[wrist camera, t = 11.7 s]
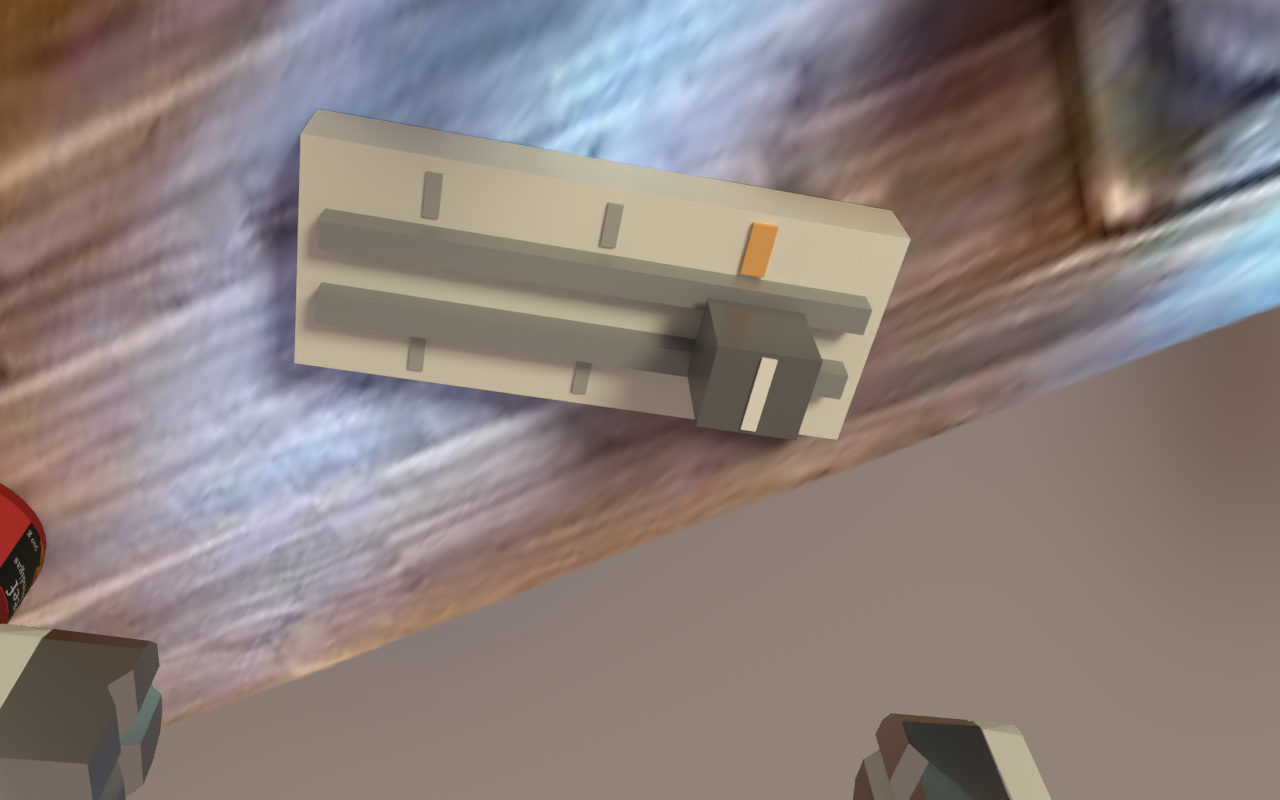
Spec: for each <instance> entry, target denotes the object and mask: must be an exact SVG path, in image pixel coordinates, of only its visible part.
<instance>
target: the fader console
mask: <svg viewBox="0 0 1280 800" xmlns="http://www.w3.org/2000/svg"><path fill="white" fill-rule="evenodd" d="M909 242H910V238H909V236H908V235H907V233H906V232H905V230H904V229H903V227H902V226H901V224H900V223H899V221H898V220H897V218H896V217H895V215H894V214H893V212H892V211H891V210H885V209H879V208H874V207H868V206H862V205H857V204H851V203H846V202H840V201H834V200H829V199H823V198H817V197H812V196H806V195H800V194H795V193H789V192H783V191H778V190H772V189H766V188H761V187H755V186H750V185H744V184H738V183H733V182H727V181H721V180H716V179H710V178H704V177H699V176H693V175H687V174H682V173H676V172H670V171H665V170H659V169H654V168H648V167H642V166H637V165H631V164H625V163H620V162H614V161H608V160H603V159H597V158H591V157H586V156H580V155H574V154H569V153H563V152H558V151H552V150H546V149H541V148H535V147H529V146H524V145H518V144H512V143H507V142H501V141H495V140H490V139H484V138H478V137H473V136H467V135H462V134H456V133H450V132H445V131H439V130H433V129H428V128H422V127H416V126H411V125H405V124H399V123H394V122H388V121H383V120H377V119H371V118H366V117H360V116H354V115H349V114H343V113H337V112H332V111H326V110H320V109H317V111H316V112H315V114H314V115H313V117H312V118H311V119H310V121H309V122H308V124H307V125H306V127H305V128H304V129H303V131H302V132H301V136H300V173H299V210H298V247H297V284H296V321H295V358H294V363H297V364H304V365H311V366H318V367H326V368H333V369H340V370H347V371H354V372H361V373H368V374H375V375H382V376H389V377H396V378H404V379H411V380H418V381H425V382H432V383H439V384H446V385H453V386H460V387H467V388H475V389H482V390H489V391H496V392H503V393H510V394H517V395H524V396H531V397H538V398H546V399H553V400H560V401H567V402H574V403H581V404H588V405H595V406H602V407H609V408H617V409H624V410H631V411H638V412H645V413H652V414H659V415H666V416H673V417H680V418H688V419H695V417H694V412H693V406H692V400H691V394H690V388H689V382H688V377H687V374H688V370H689V366H690V362H691V358H692V355H693V351H694V347H695V343H696V339H697V336H698V332H699V328H700V324H701V320H702V317H703V313H704V309H705V305H706V301H707V298H710V299H716V300H723V301H729V302H735V303H741V304H748V305H754V306H760V307H766V308H773V309H779V310H785V311H792V312H798V313H804V315H805V317H806V320H807V322H808V325H809V327H810V330H811V333H812V335H813V338H814V340H815V343H816V345H817V348H818V350H819V353H820V355H821V358H822V361H823V363H822V366H821V369H820V372H819V375H818V378H817V381H816V383H815V386H814V389H813V392H812V395H811V398H810V401H809V404H808V407H807V410H806V413H805V416H804V419H803V421H802V424H801V427H800V430H799V433H798V434H801V435H808V436H815V437H822V438H829V439H837V438H838V436H839V433H840V430H841V427H842V425H843V422H844V419H845V417H846V414H847V411H848V408H849V406H850V403H851V400H852V398H853V395H854V392H855V389H856V387H857V384H858V381H859V378H860V376H861V373H862V370H863V368H864V365H865V362H866V359H867V357H868V354H869V351H870V348H871V346H872V343H873V340H874V338H875V335H876V332H877V329H878V327H879V324H880V321H881V319H882V316H883V313H884V310H885V308H886V305H887V302H888V299H889V297H890V294H891V291H892V289H893V286H894V283H895V280H896V278H897V275H898V272H899V269H900V267H901V264H902V261H903V259H904V256H905V253H906V250H907V248H908V245H909Z"/></svg>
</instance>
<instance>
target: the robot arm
mask: <svg viewBox="0 0 1280 800" xmlns="http://www.w3.org/2000/svg"><path fill="white" fill-rule="evenodd" d="M158 668H159V657H158V648H157V643H154V642H152V641H146V640H138V639H130V638H122V637H114V636H106V635H98V634H89V633H81V632H73V631H65V630H57V629H53V630H52V629H44V628H35V627H27V626H18V625H10V624H0V800H126V799H125V798H126V797H127V796H128V795H130V794H131V793H132V792H134V791H135V790H136V789H138V788H139V787H140V786H142V785H143V784H144V781H145V779H146V776H147V774H148V771H149V769H150V766H151V764H152V761H153V758H154V754H155V750H156V746H157V742H158V738H159V735H160V729H161V718H162V697H161V694H160V693H159V692H158V691H157V690H156V689H155V688H154V687H153V686H152V685H151V684H152V681H153V679H154V677H155V675H156V672H157V670H158ZM876 737H877V741H878V744H879V748H880V749H879V750H878V751H876V752H875V753H873V754H872V755H870V756H868V757H867V758H865V759H864V760H863V762H862V764H861V767H860V769H859V771H858V774H857V777H856V779H855V787H854V796H853V800H1051V798H1050V796H1049V793H1048V791H1047V789H1046V787H1045V785H1044V783H1043V780H1042V778H1041V776H1040V774H1039V771H1038V769H1037V767H1036V765H1035V763H1034V760H1033V758H1032V756H1031V754H1030V752H1029V749H1028V747H1027V745H1026V743H1025V741H1024V738H1023V736H1022V734H1021V732H1019V730H1017V729H1016V727H1014V726H1013V725H1010V724H1000V723H990V722H979V721H968V720H962V719H950V718H938V717H928V716H916V715H905V714H892V713H891V714H890V715H888V716H887V717H886V718H884V719H883V721H882V722H881V724H880V726H879V728H878V730H877V732H876Z"/></svg>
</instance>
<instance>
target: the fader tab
mask: <svg viewBox="0 0 1280 800" xmlns="http://www.w3.org/2000/svg"><path fill="white" fill-rule="evenodd" d="M822 363H823V361H822V358H821V355H820V353H819V350H818V348H817V345H816V343H815V340H814V338H813V335H812V333H811V330H810V327H809V325H808V322H807V320H806V317H805V315H804V313H798V312H792V311H785V310H779V309H773V308H766V307H760V306H754V305H748V304H741V303H735V302H729V301H723V300H716V299H710V298H707V301H706V305H705V309H704V313H703V317H702V320H701V324H700V328H699V332H698V336H697V339H696V343H695V347H694V351H693V355H692V358H691V362H690V366H689V370H688V374H687V377H688V382H689V388H690V394H691V400H692V406H693V412H694V417H695V423H696V426H697V427H704V428H711V429H718V430H725V431H732V432H740V433H747V434H754V435H761V436H768V437H775V438H782V439H790V440H796V439H797V436H798V433H799V430H800V427H801V424H802V421H803V419H804V416H805V413H806V410H807V407H808V404H809V401H810V398H811V395H812V392H813V389H814V386H815V383H816V381H817V378H818V375H819V372H820V369H821V366H822Z"/></svg>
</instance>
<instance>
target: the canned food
mask: <svg viewBox="0 0 1280 800" xmlns="http://www.w3.org/2000/svg"><path fill="white" fill-rule="evenodd" d="M45 550H46V539H45V533H44V530H43V527H42V525H41V522H40V521H39V519H38V518H37V516H36V514H35V513H34V511H33V510H32V509H31V508H30V507H29V506H28V505H27V503H26V502H25V501H24V500H23V499H21V498H20V497H19V496H18V495H17V494H15V493H14V492H13V491H12V490H10V489H8V488H7V487H5V486H4V485H2V484H0V624H8V623H9V621H10V619H11V618H12V616H13V615H14V613H15V611H16V610H17V608H18V607H19V605H20V604H21V602H22V600H23V599H24V597H25V596H26V594H27V593H28V591H29V589H30V588H31V586H32V585H33V583H34V582H35V580H36V578H37V577H38V575H39V573H40V571H41V569H42V566H43V561H44V556H45Z"/></svg>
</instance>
